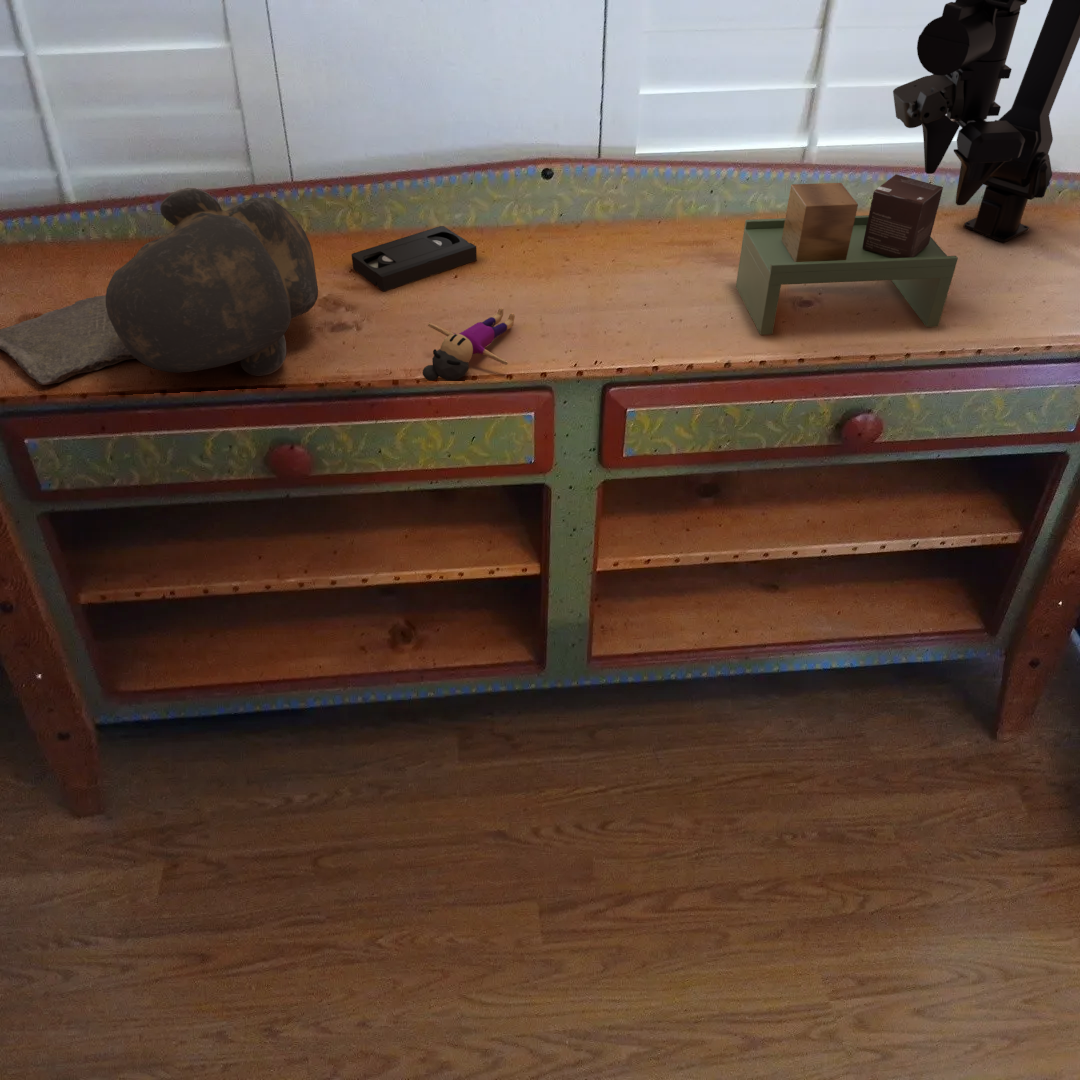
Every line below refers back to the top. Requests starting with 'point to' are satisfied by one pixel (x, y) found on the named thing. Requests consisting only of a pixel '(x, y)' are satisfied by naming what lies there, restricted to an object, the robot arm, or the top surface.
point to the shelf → (836, 272)
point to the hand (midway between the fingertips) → (944, 188)
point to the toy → (465, 347)
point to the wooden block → (819, 222)
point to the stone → (65, 342)
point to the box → (901, 217)
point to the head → (214, 286)
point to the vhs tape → (413, 257)
